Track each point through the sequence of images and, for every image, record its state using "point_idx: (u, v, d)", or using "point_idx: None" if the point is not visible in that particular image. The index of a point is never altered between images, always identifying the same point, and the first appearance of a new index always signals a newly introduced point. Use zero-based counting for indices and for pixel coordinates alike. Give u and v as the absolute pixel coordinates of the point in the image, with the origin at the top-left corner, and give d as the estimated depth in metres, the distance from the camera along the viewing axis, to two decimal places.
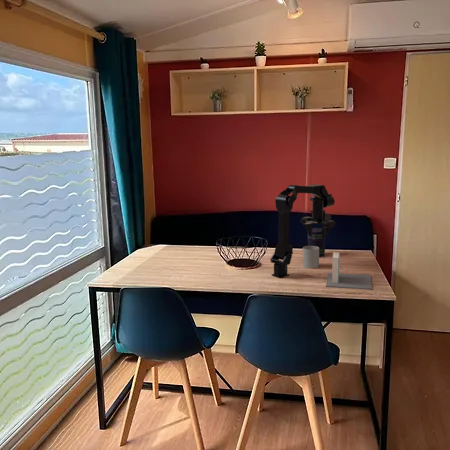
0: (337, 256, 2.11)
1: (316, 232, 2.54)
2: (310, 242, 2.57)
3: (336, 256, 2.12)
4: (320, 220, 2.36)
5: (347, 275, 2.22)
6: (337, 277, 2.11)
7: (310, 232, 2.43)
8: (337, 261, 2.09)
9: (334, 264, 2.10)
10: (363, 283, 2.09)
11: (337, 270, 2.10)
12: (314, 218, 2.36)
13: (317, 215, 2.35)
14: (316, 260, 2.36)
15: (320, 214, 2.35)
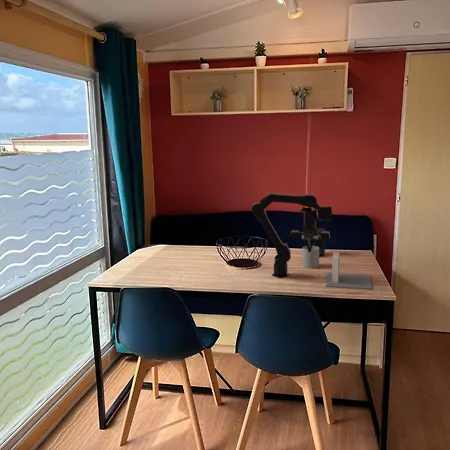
0: (337, 256, 2.11)
1: None
2: (310, 242, 2.57)
3: (336, 256, 2.12)
4: None
5: (347, 275, 2.22)
6: (337, 277, 2.11)
7: None
8: (337, 261, 2.09)
9: (334, 264, 2.10)
10: (363, 283, 2.09)
11: (337, 270, 2.10)
12: None
13: None
14: (316, 260, 2.36)
15: None
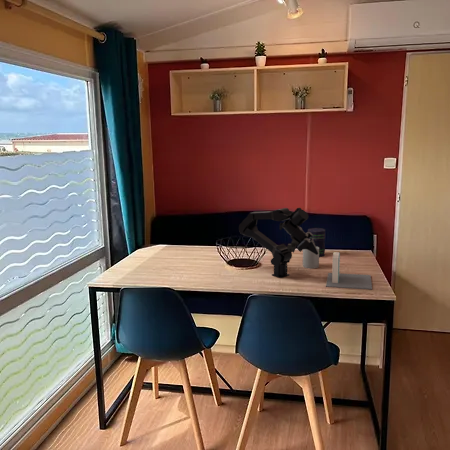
0: (337, 256, 2.11)
1: (316, 232, 2.54)
2: None
3: (336, 256, 2.12)
4: None
5: (347, 275, 2.22)
6: (337, 277, 2.11)
7: None
8: (337, 261, 2.09)
9: (334, 264, 2.10)
10: (363, 283, 2.09)
11: (337, 270, 2.10)
12: (305, 233, 2.16)
13: None
14: (316, 260, 2.36)
15: None
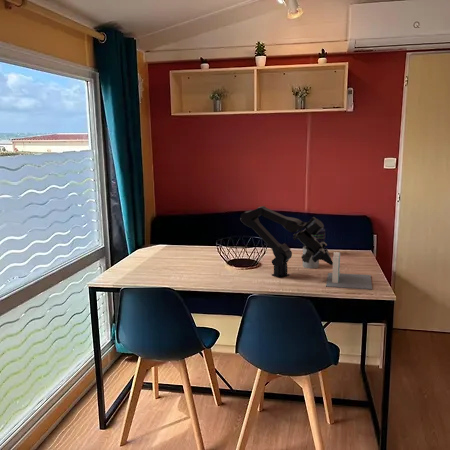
0: (337, 256, 2.11)
1: None
2: None
3: (336, 256, 2.12)
4: None
5: (347, 275, 2.22)
6: (337, 277, 2.11)
7: None
8: (337, 261, 2.09)
9: (334, 264, 2.10)
10: (363, 283, 2.09)
11: (337, 270, 2.10)
12: (320, 243, 2.15)
13: None
14: None
15: None
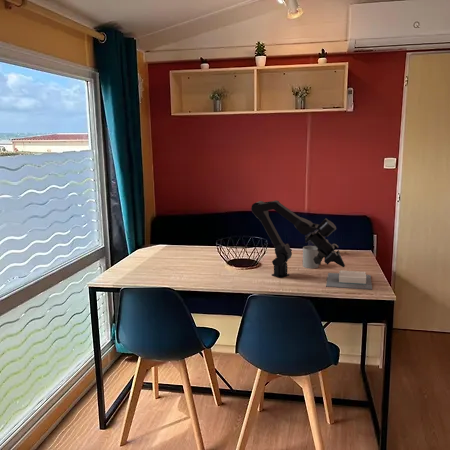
0: None
1: None
2: (310, 242, 2.57)
3: None
4: None
5: None
6: (344, 282, 2.10)
7: None
8: (362, 282, 2.08)
9: (358, 279, 2.08)
10: None
11: (352, 282, 2.09)
12: (332, 245, 2.14)
13: None
14: None
15: None
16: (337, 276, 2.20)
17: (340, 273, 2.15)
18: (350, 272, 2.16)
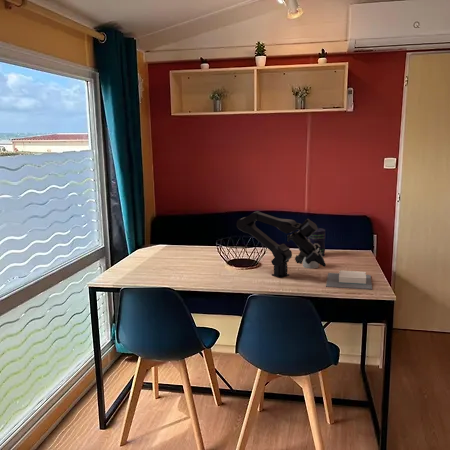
0: None
1: (316, 232, 2.54)
2: None
3: None
4: None
5: None
6: (344, 282, 2.10)
7: None
8: (362, 282, 2.08)
9: (358, 279, 2.08)
10: None
11: (352, 282, 2.09)
12: (313, 245, 2.16)
13: None
14: None
15: None
16: (337, 276, 2.20)
17: (340, 273, 2.15)
18: (350, 272, 2.16)
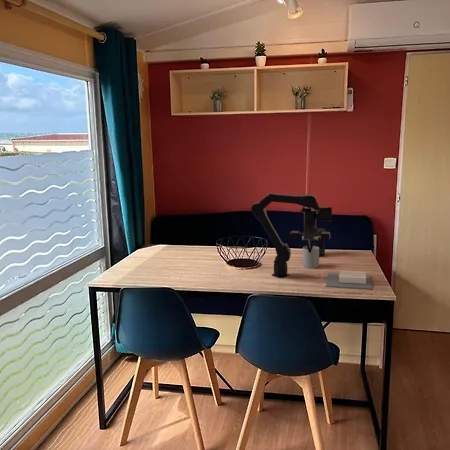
0: None
1: None
2: (310, 242, 2.57)
3: None
4: None
5: None
6: (344, 282, 2.10)
7: None
8: (362, 282, 2.08)
9: (358, 279, 2.08)
10: None
11: (352, 282, 2.09)
12: None
13: None
14: (316, 260, 2.36)
15: None
16: (337, 276, 2.20)
17: (340, 273, 2.15)
18: (350, 272, 2.16)
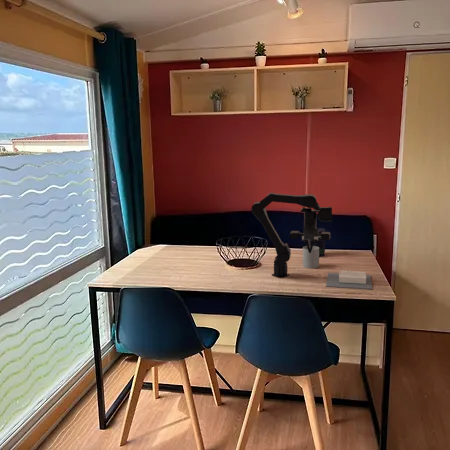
0: None
1: None
2: (310, 242, 2.57)
3: None
4: None
5: None
6: (344, 282, 2.10)
7: None
8: (362, 282, 2.08)
9: (358, 279, 2.08)
10: None
11: (352, 282, 2.09)
12: None
13: None
14: (316, 260, 2.36)
15: None
16: (337, 276, 2.20)
17: (340, 273, 2.15)
18: (350, 272, 2.16)
